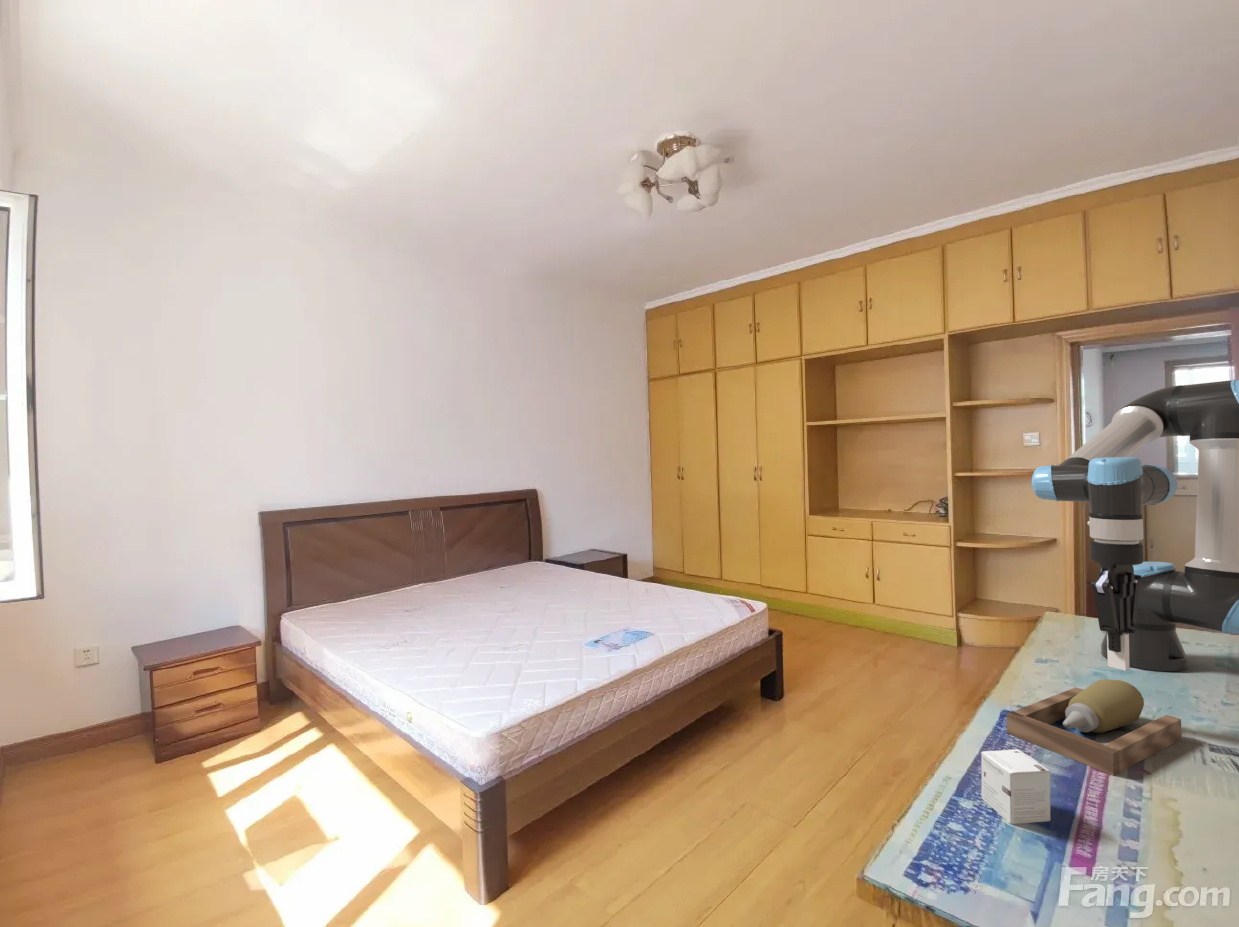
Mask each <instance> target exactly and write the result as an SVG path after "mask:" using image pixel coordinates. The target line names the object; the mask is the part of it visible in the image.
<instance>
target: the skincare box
mask: <svg viewBox="0 0 1239 927" xmlns="http://www.w3.org/2000/svg"><path fill="white" fill-rule="evenodd" d="M980 755H981V799H982V800H983V801H984V802H985V803H986V804H987V805H988V806H990V807H991V808H992V810H994V811H995V812H996V813H998V814H999V815H1000V816H1001V817H1002V818H1004V820H1005V821H1007V822H1008V824H1011V825H1018V824H1019V825H1021V824H1031V823H1042V822H1043V823H1044V822H1050V821H1051V770H1049V769H1048V768H1047V767H1045V766H1044V765H1042V764H1040V763H1039V762H1038V761H1037V760H1036V759H1035V758H1033V757H1031V756H1029V755H1027V754H1026V753H1024V752H1023V751H1022V750H1020V749H1017V748H1016V749H1004V750H1003V749H1002V750H984V751H981V754H980Z"/></svg>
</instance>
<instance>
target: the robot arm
mask: <svg viewBox="0 0 1239 927" xmlns="http://www.w3.org/2000/svg"><path fill="white" fill-rule="evenodd" d="M1186 436H1187V437H1189V444H1191V445H1192V446H1193V447H1195V448H1196V449H1197V451H1198V460H1197V461H1198V463H1197V467H1198V468H1197V486H1196V488H1197V489H1196V490H1197V491H1196V493H1197V494H1196V515H1195V517H1196V518H1195V539H1194V544H1195V546H1194V558H1192V559H1191V560H1190V561H1188V562H1186V563H1185V564H1184V571H1179V570H1177V567H1176V566H1175V564H1174V563H1172V562H1166V561H1144V545H1143V544H1142V543H1141V542H1140V541H1143V540H1144V518H1143V516H1144V515H1143V506H1148V505H1149V506H1153V505H1154V506H1155V505H1156V504H1160V503H1162V502H1163V503H1164V502H1166V501H1168V500H1170V499H1171V498H1172V497H1173V496H1174V495H1175V494H1176V491H1177V490H1178V480H1177V477H1176V476H1175V474H1174V473H1173V472H1172V471H1170V470H1169V469H1168V468H1166V467H1165V466H1164V467H1163V466H1160V465H1154V464H1142V461H1141V460H1140V459H1139V458H1138V457H1134V456H1131V455H1133V454H1134V453H1135V452H1136V451H1138V449H1139V448H1140V447H1142V446H1143V445H1147V444H1150V443H1152V442H1154V441H1156V440H1158V439H1159V438H1165V437H1186ZM1031 487H1032V489H1033V490H1032V492H1034V494H1035V496H1036V497H1037V498H1039V499H1041V500H1048V501H1055V502H1080V503H1083V502H1084V503H1088V507H1089V509H1088V510H1089V512H1088V518H1089V520H1088V521H1087V523H1086V524H1087V525H1088V527H1089V537H1090V538H1091V539H1092V540H1090V542H1089V558H1090V560H1092V561H1093V562H1096V563H1098V564H1099V570H1098V580H1097V581H1096V580H1092V581H1091V583H1090V588H1091V589H1092V592H1093V593H1094V594H1093V595H1094V601H1095V607H1096V613H1097V620H1098V621H1097V622H1098V625H1099V630H1100V631H1101V632H1105V634H1104V637H1103V639H1102V642H1101V643H1100V644H1101V645H1100V650H1101V651H1100V652H1101V655H1102V657H1104V658H1105V659H1106V660H1107V667H1110V668H1114V669H1118V670H1121V671H1125V672H1126V671H1129V670H1130V667H1132V668H1137V669H1142V670H1150V671H1159V672H1179V671H1183V670H1187V668H1188V656H1187V654H1186V652H1185V650H1184V647H1183V645H1182V643H1181V640H1180V637H1179V636H1178V633H1177V627H1176V626H1177V624H1178V625H1179V624H1181V625H1186V626H1190V627H1196V628H1201V629H1208V630H1213V631H1218V632H1222V633H1224V634H1232V635H1239V379H1232V380H1223V381H1213V382H1202V383H1195V384H1194V383H1192V384H1184V385H1183V384H1182V385H1174V386H1173V385H1172V386H1168V387H1167V386H1166V387H1162V388H1160V389H1158V390H1157V389H1156V390H1154V391H1151V392H1148V393H1147V394H1144V395H1143V396H1142V395H1141V396H1140V397H1137V398H1136V399H1134V400H1133V401H1131V402H1129V403H1127V404H1126V405H1124V406H1122V408H1120V409H1118V411H1116V412H1115V414H1114V415H1113V416H1112V418H1111V422H1110V423H1109V424H1108V425H1106V427H1104V428H1103V429H1102V430H1100V431H1099V432H1097V434H1095V435H1094V436H1093V437H1092V438H1091V439H1089V440H1088V441H1087V442H1086V443H1084V444H1083V445H1082V446H1081V447H1079V448H1078V449H1077V450H1075V451H1074V452H1073V453H1072V454H1071V455H1070V456H1068V457H1067V458H1066V459H1064V460H1063V461H1062V462H1061V463H1059V464H1057V465H1054V464H1049V465H1040V466H1039V467H1037V468H1036V469H1035V470H1034V471H1033V473H1032V477H1031Z"/></svg>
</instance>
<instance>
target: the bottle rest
mask: <svg viewBox="0 0 1239 927" xmlns="http://www.w3.org/2000/svg"><path fill="white" fill-rule="evenodd" d="M1083 690H1084V689H1083V688H1080V687H1075V686H1074V687H1073V688H1070V689H1068V690H1064V691H1062V692H1060V693H1057V694H1055V695H1052V696H1049V697H1047V698H1044V699H1041V700H1039V701H1037V702H1034V703H1031V704H1029V705H1026V706H1024V707H1020V708H1018V709H1016V710H1013V711H1011V712H1008V713H1006V734H1009V735H1011V736H1013V737H1015V738H1019V739H1020V740H1021V739H1022V740H1023V741H1026V742H1028V743H1031V744H1033V745H1036V746H1038V747H1041V748H1044V749H1045V750H1049V751H1051V752H1053V753H1056V754H1059V755H1061V756H1063V757H1066V758H1068V759H1071V760H1074V761H1076V762H1078V763H1081V764H1084V765H1086V766H1088V767H1091V768H1092V769H1096V770H1099V771H1101V772H1104V773H1106V774H1108V775H1111V776H1116V775H1117V774H1119V773H1122V772H1123V771H1125V770H1126V769H1129V768H1130V767H1132V766H1134V765H1136V764H1137V763H1140V762H1141V761H1144V760H1146V759H1147V758H1150V757H1151V756H1152V755H1154V754H1157V753H1159V752H1160V751H1162V750H1163V749H1167V747H1169V746H1171V745H1173V744H1175V743H1176V742H1177V743H1178V742H1179V741H1181V740H1182V719H1181V718H1179V717H1175V716H1173V715H1172V716H1171V715H1170V714H1169V715H1168V714H1164V715H1162V716H1161V717H1159V718H1156V719H1154V720H1153V721H1151V722H1147V724H1144V725H1143V726H1140V727H1138V728H1136V729H1134V730H1131V731H1130V732H1128V733H1126V734H1123V735H1121V736H1120V737H1117V738H1115V739H1113V740H1111V741H1110V742H1107V743H1105V744H1103V743H1101V742H1098V741H1096V740H1092V739H1090V738H1087V737H1084V736H1082V735H1079V734H1075V733H1074V732H1071V731H1068V730H1065V729H1062V728H1060V727H1057V726H1055V725H1052V724H1054V722H1055V723H1056V721H1057V722H1059V721H1062V720H1065V719H1066V715H1065V710H1066V708H1067V707H1068V704H1069V702H1070V700H1071V699H1072V698H1073V697H1074V696H1076V695H1077V694H1079V693H1080V692H1081V691H1083ZM1061 719H1062V720H1061ZM1058 720H1059V721H1058ZM1049 724H1050V725H1049Z"/></svg>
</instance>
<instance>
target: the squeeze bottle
mask: <svg viewBox="0 0 1239 927" xmlns="http://www.w3.org/2000/svg"><path fill="white" fill-rule="evenodd" d="M1144 700H1145V699H1144V697H1143V695H1142V693H1141V691H1139V689H1138V688H1136V687H1135V686H1134V685H1133V684H1131V683H1129V682H1128V681H1124V680H1121V679H1120V680H1119V679H1110V678H1109V679H1097V680H1096V681H1095V682H1092V684H1089V686H1087V687H1086V688H1084V689H1083V691H1081V692H1080V693H1079V694H1077V695H1076V696H1074V697H1073V698H1072V699H1071V700H1070V702H1069V704H1068V707H1067V708H1066V710H1065V715H1066V718H1064V720H1063V722H1062V726H1063V727H1064V728H1066V729H1076V730H1077V731H1080V732H1082V733H1093V734H1102V733H1106V732H1109V731H1113V730H1115V729H1119V728H1121V727H1124V726H1129V725H1131V724H1133V723H1135V722H1137V721H1138V720H1139V718H1140V716H1141V714H1142V712H1143V709H1144V706H1145V703H1144Z"/></svg>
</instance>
